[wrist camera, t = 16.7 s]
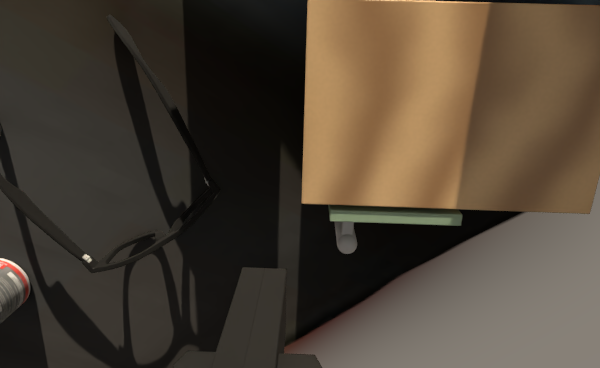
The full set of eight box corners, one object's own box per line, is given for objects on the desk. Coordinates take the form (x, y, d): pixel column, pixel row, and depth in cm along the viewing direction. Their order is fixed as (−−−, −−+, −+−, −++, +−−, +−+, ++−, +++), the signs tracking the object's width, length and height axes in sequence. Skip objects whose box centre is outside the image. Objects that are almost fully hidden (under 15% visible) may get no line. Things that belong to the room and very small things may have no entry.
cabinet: (304, 156, 38) (301, 204, 27) (309, 13, 34) (307, -3, 23) (506, 163, 38) (590, 214, 26) (533, 19, 34) (643, 6, 23)
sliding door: (323, 204, 39) (327, 264, 28) (325, 163, 38) (330, 210, 27) (415, 208, 39) (454, 269, 28) (420, 166, 38) (463, 214, 27)
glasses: (115, 262, 43) (92, 291, 38) (-19, 117, 38) (-64, 130, 33) (248, 178, 40) (241, 199, 35) (121, 7, 35) (93, 4, 30)
